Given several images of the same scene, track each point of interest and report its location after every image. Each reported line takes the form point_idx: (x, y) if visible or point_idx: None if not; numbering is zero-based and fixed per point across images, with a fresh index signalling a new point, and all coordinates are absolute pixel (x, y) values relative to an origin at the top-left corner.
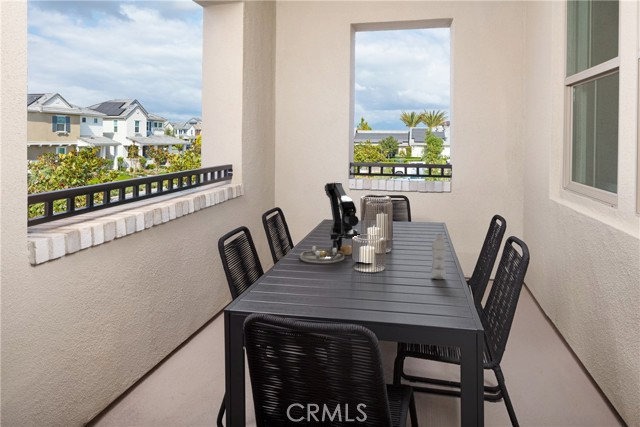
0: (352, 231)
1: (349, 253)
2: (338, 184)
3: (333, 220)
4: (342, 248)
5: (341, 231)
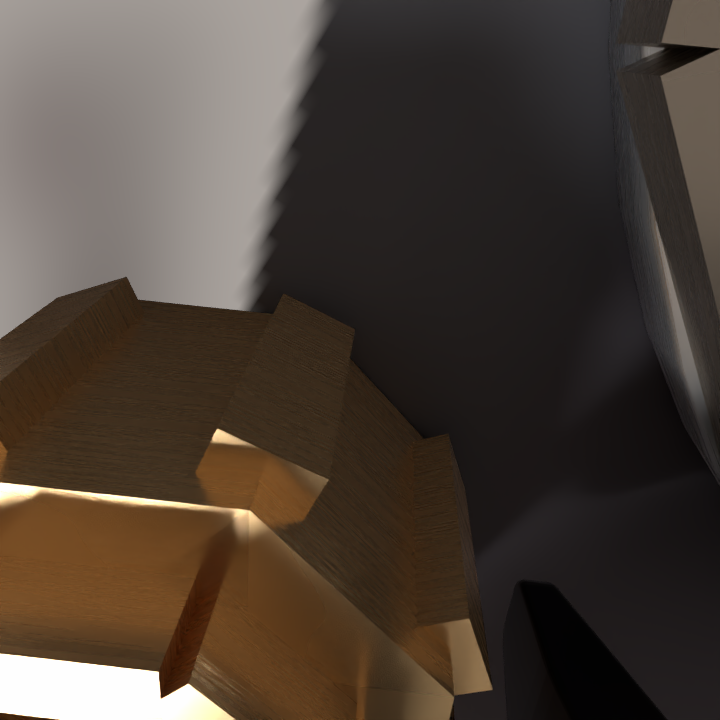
0: None
1: (102, 294)
2: None
3: None
4: (415, 630)
5: None
